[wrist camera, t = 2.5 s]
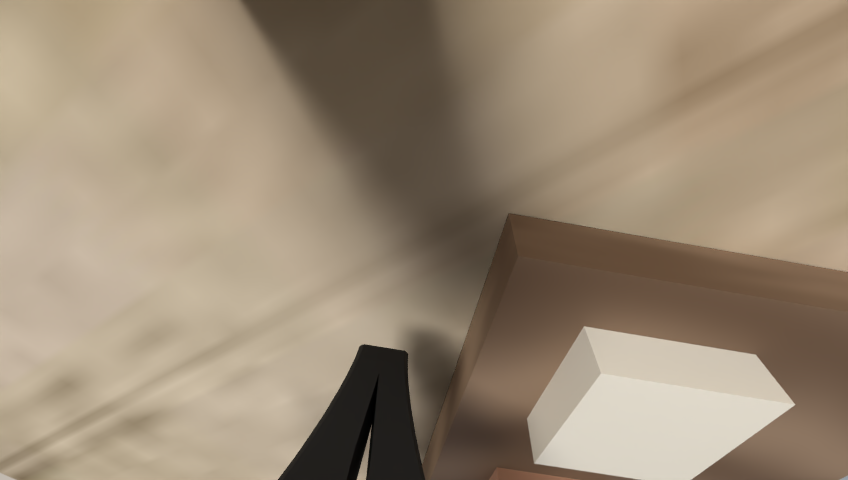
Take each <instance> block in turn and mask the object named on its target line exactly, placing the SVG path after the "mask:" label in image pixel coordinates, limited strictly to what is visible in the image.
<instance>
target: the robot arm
mask: <svg viewBox="0 0 848 480" xmlns="http://www.w3.org/2000/svg"><path fill="white" fill-rule="evenodd" d="M371 425H372V429H371ZM370 429H371V438H370V448H369V458H368V468H367V477H366V480H425V476H424V472H423V468H422V463H421V459H420V454H419V450H418V445H417V440H416V435H415V429H414V423H413V417H412V411H411V403H410V395H409V385H408V353H407V352H406V351H402V350H396V349H390V348H384V347H377V346H371V345H365V344H364V345H361V346H360V347H359V350H358V352H357V355H356V357H355V359H354V362H353V364H352V366H351V368H350V370H349V372H348V374H347V376H346V378H345V379H344V381H343V383H342V385H341V387H340V389H339V390H338V392H337V394H336V395H335V397H334V399H333V400H332V402H331V404H330V405H329V407H328V409H327V410H326V412H325V414H324V415H323V417H322V418H321V420H320V421H319V423H318V424H317V426H316V427H315V429H314V430H313V432H312V433H311V435H310V436H309V438H308V439H307V441H306V442H305V443H304V445H303V446H302V448H301V449H300V451H299V452H298V453H297V455H296V456H295V458H294V459H293V460H292V462H291V463H290V464H289V466H288V467H287V468H286V470H285V471H284V472H283V474H282V475H281V476H280V478H279V479H278V480H357V476H358V473H359V469H360V465H361V462H362V458H363V454H364V451H365V447H366V443H367V440H368V436H369V432H370Z"/></svg>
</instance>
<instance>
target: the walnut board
mask: <svg viewBox="0 0 848 480" xmlns="http://www.w3.org/2000/svg"><path fill="white" fill-rule="evenodd" d="M584 326H585V327H591V328H597V329H603V330H609V331H615V332H621V333H627V334H633V335H640V336H646V337H652V338H658V339H664V340H670V341H676V342H682V343H688V344H694V345H700V346H706V347H712V348H718V349H724V350H730V351H736V352H743V353H749V354H755V355H756V356H757V357H758V358H759V359H760V361H761V362H762V363H763V364H764V366H765V367H766V368H767V369H768V371H769V372H770V373H771V375H772V376H773V377H774V378H775V380H776V381H777V382H778V383H779V385H780V386H781V387H782V388H783V390H784V391H785V392H786V394H787V395H788V396H789V397H790V399H791V400H792V401H793V402H794V404H795V405H794V406H793V407H791V408H790V409H789V410H787V411H786V412H785V413H783V414H782V415H780V416H779V417H778V418H776V419H775V420H773V421H772V422H771V423H769V424H768V425H766V426H765V427H764V428H762V429H761V430H760V431H758V432H757V433H755V434H754V435H753V436H751V437H750V438H748V439H747V440H746V441H744V442H743V443H741V444H740V445H739V446H737V447H736V448H735V449H733V450H732V451H730V452H729V453H728V454H726V455H725V456H723V457H722V458H721V459H719V460H718V461H716V462H715V463H714V464H712V465H711V466H710V467H708V468H707V469H705V470H704V471H703V472H701V473H700V474H698V475H697V476H696V477H694V478H693V479H691V480H840V479H842V478H844V477H846V476H848V272H843V271H837V270H832V269H826V268H820V267H814V266H809V265H803V264H797V263H791V262H786V261H780V260H774V259H768V258H763V257H757V256H751V255H745V254H740V253H734V252H728V251H722V250H717V249H711V248H705V247H699V246H694V245H688V244H682V243H676V242H671V241H665V240H659V239H653V238H647V237H642V236H636V235H630V234H624V233H619V232H613V231H607V230H601V229H596V228H590V227H584V226H578V225H573V224H567V223H561V222H555V221H550V220H544V219H538V218H532V217H527V216H521V215H515V214H508V217H507V220H506V223H505V226H504V229H503V232H502V235H501V238H500V240H499V243H498V246H497V249H496V252H495V255H494V258H493V261H492V264H491V267H490V269H489V272H488V275H487V278H486V281H485V284H484V287H483V290H482V293H481V296H480V299H479V301H478V304H477V307H476V310H475V313H474V316H473V319H472V322H471V325H470V328H469V330H468V333H467V336H466V339H465V342H464V345H463V348H462V351H461V354H460V357H459V360H458V362H457V365H456V368H455V371H454V374H453V377H452V380H451V383H450V386H449V389H448V391H447V394H446V397H445V400H444V403H443V406H442V409H441V412H440V415H439V418H438V420H437V423H436V426H435V429H434V432H433V435H432V438H431V441H430V444H429V447H428V450H427V452H426V455H425V458H424V461H423V464H422V468H423V472H424V476H425V480H489V479H490V477H491V476H492V474H493V473H494V471H495V469H496V468H497V467H499V468H505V469H512V470H518V471H525V472H532V473H538V474H545V475H551V476H558V477H565V478H571V479H578V480H639V479H633V478H626V477H620V476H613V475H607V474H600V473H593V472H587V471H580V470H574V469H567V468H561V467H554V466H547V465H541V464H534V460H533V453H532V447H531V441H530V434H529V428H528V422H527V418H528V416H529V414H530V413H531V411H532V410H533V408H534V406H535V405H536V403H537V402H538V400H539V398H540V397H541V395H542V393H543V392H544V390H545V389H546V387H547V385H548V384H549V382H550V381H551V379H552V377H553V376H554V374H555V372H556V371H557V369H558V368H559V366H560V364H561V363H562V361H563V360H564V358H565V356H566V355H567V353H568V351H569V350H570V348H571V347H572V345H573V343H574V342H575V340H576V339H577V337H578V335H579V334H580V332H581V330H582V329H583V327H584Z"/></svg>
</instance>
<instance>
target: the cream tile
mask: <svg viewBox="0 0 848 480" xmlns="http://www.w3.org/2000/svg"><path fill="white" fill-rule="evenodd" d="M794 405H795V404H794V402H793V401H792V400H791V399H790V397H789V396H788V395H787V394H786V392H785V391H784V390H783V388H782V387H781V386H780V385H779V383H778V382H777V381H776V380H775V378H774V377H773V376H772V375H771V373H770V372H769V371H768V369H767V368H766V367H765V366H764V364H763V363H762V362H761V361H760V359H759V358H758V357H757V356H756V355H755V354H749V353H743V352H736V351H730V350H724V349H718V348H712V347H706V346H700V345H694V344H688V343H682V342H676V341H670V340H664V339H658V338H652V337H646V336H640V335H633V334H627V333H621V332H615V331H609V330H603V329H597V328H591V327H585V326H584V327H583V329H582V330H581V332H580V334H579V335H578V337H577V339H576V340H575V342H574V343H573V345H572V347H571V348H570V350H569V351H568V353H567V355H566V356H565V358H564V360H563V361H562V363H561V364H560V366H559V368H558V369H557V371H556V372H555V374H554V376H553V377H552V379H551V381H550V382H549V384H548V385H547V387H546V389H545V390H544V392H543V393H542V395H541V397H540V398H539V400H538V402H537V403H536V405H535V406H534V408H533V410H532V411H531V413H530V414H529V416H528V418H527V422H528V428H529V434H530V441H531V447H532V453H533V460H534V464H541V465H547V466H554V467H561V468H567V469H574V470H580V471H587V472H593V473H600V474H607V475H613V476H620V477H626V478H633V479H639V480H691V479H693V478H694V477H696V476H697V475H698V474H700V473H701V472H703V471H704V470H705V469H707V468H708V467H710V466H711V465H712V464H714V463H715V462H716V461H718V460H719V459H721V458H722V457H723V456H725V455H726V454H728V453H729V452H730V451H732V450H733V449H735V448H736V447H737V446H739V445H740V444H741V443H743V442H744V441H746V440H747V439H748V438H750V437H751V436H753V435H754V434H755V433H757V432H758V431H760V430H761V429H762V428H764V427H765V426H766V425H768V424H769V423H771V422H772V421H773V420H775V419H776V418H778V417H779V416H780V415H782V414H783V413H785V412H786V411H787V410H789V409H790V408H791V407H793V406H794Z"/></svg>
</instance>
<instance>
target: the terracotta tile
mask: <svg viewBox="0 0 848 480" xmlns="http://www.w3.org/2000/svg"><path fill="white" fill-rule="evenodd" d="M489 480H578V479H571V478H565V477H558V476H551V475H545V474H538V473H532V472H525V471H518V470H512V469H505V468H499V467H497V468H496V469H495V471H494V473H493V474H492V476H491V477H490V479H489Z"/></svg>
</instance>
